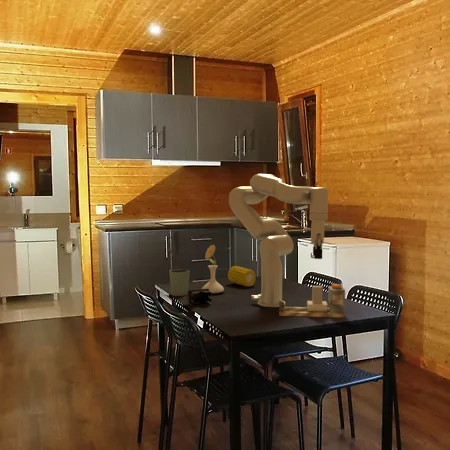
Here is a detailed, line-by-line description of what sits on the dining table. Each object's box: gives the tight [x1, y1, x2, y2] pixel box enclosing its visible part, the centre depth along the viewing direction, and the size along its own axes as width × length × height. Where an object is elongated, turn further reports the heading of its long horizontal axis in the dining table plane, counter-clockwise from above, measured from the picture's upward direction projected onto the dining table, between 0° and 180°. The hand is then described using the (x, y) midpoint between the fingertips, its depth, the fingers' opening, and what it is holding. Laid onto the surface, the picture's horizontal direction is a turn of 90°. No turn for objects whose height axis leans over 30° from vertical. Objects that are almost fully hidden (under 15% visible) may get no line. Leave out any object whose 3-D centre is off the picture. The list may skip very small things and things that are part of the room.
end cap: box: [186, 288, 213, 307], centre depth 237 cm, size 10×7×7 cm
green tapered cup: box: [168, 268, 191, 297], centre depth 258 cm, size 10×10×12 cm
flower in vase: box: [201, 244, 225, 294], centre depth 261 cm, size 13×11×25 cm
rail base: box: [278, 285, 346, 318], centre depth 218 cm, size 27×8×12 cm, turn 84°
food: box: [227, 265, 257, 288], centre depth 283 cm, size 15×12×10 cm
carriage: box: [306, 285, 328, 311], centre depth 218 cm, size 8×7×10 cm
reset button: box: [331, 283, 343, 289], centre depth 217 cm, size 4×4×1 cm
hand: (317, 257), depth 218 cm, fingers open, 9 cm apart
